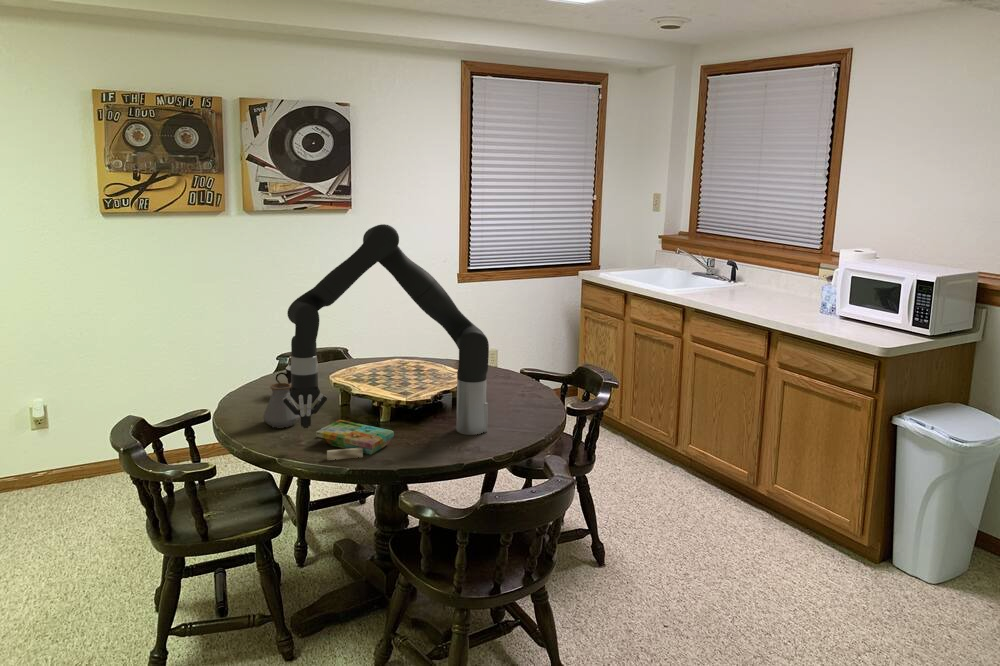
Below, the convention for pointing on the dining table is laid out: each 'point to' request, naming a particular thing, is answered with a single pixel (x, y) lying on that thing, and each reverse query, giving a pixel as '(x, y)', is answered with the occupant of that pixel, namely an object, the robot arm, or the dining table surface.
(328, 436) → the puzzle game
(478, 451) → the dining table surface
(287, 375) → the coffee mug
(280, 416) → the coffee pot
